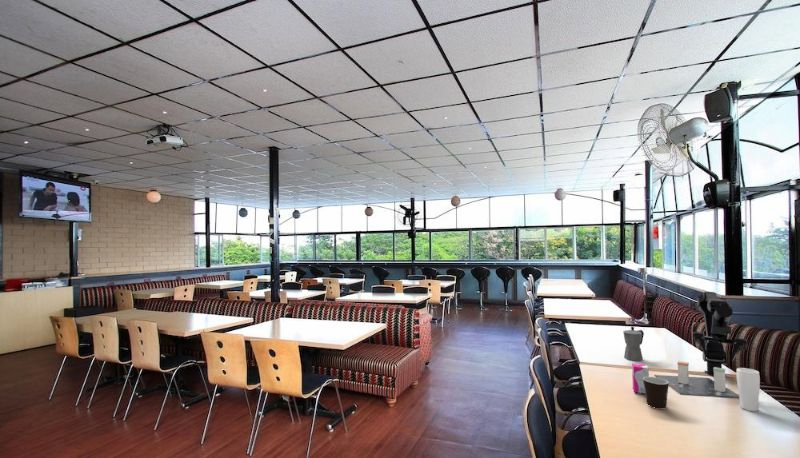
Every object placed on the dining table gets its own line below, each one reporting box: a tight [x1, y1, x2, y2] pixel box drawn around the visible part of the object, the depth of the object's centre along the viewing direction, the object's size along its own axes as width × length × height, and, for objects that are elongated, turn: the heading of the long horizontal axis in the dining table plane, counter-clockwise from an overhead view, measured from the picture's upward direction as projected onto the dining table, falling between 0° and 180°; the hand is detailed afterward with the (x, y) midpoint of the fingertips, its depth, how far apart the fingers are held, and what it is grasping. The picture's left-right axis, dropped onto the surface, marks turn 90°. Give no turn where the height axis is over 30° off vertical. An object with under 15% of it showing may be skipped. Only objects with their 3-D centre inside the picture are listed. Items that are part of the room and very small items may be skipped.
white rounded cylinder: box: [736, 367, 761, 413], centre depth 152 cm, size 7×7×15 cm
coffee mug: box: [643, 376, 669, 409], centre depth 156 cm, size 12×9×10 cm
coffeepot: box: [622, 326, 645, 362], centre depth 219 cm, size 15×9×18 cm, turn 113°
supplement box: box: [631, 363, 650, 395], centre depth 170 cm, size 6×6×12 cm
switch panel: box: [653, 374, 740, 399], centre depth 176 cm, size 24×24×1 cm
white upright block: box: [713, 367, 727, 392], centre depth 169 cm, size 3×4×9 cm
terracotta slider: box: [677, 360, 690, 385], centre depth 179 cm, size 3×4×9 cm
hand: (718, 358), depth 171 cm, fingers open, 9 cm apart
